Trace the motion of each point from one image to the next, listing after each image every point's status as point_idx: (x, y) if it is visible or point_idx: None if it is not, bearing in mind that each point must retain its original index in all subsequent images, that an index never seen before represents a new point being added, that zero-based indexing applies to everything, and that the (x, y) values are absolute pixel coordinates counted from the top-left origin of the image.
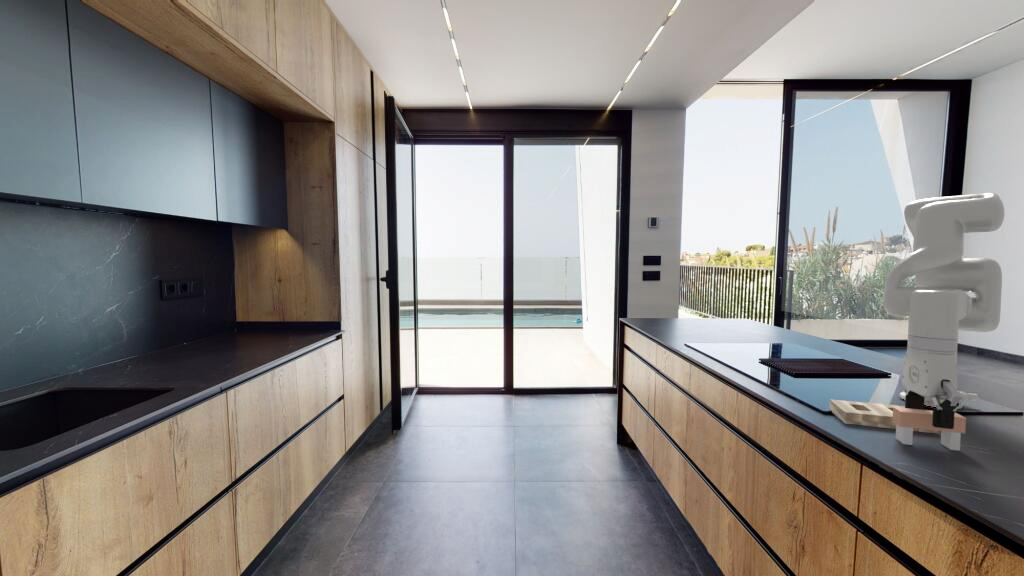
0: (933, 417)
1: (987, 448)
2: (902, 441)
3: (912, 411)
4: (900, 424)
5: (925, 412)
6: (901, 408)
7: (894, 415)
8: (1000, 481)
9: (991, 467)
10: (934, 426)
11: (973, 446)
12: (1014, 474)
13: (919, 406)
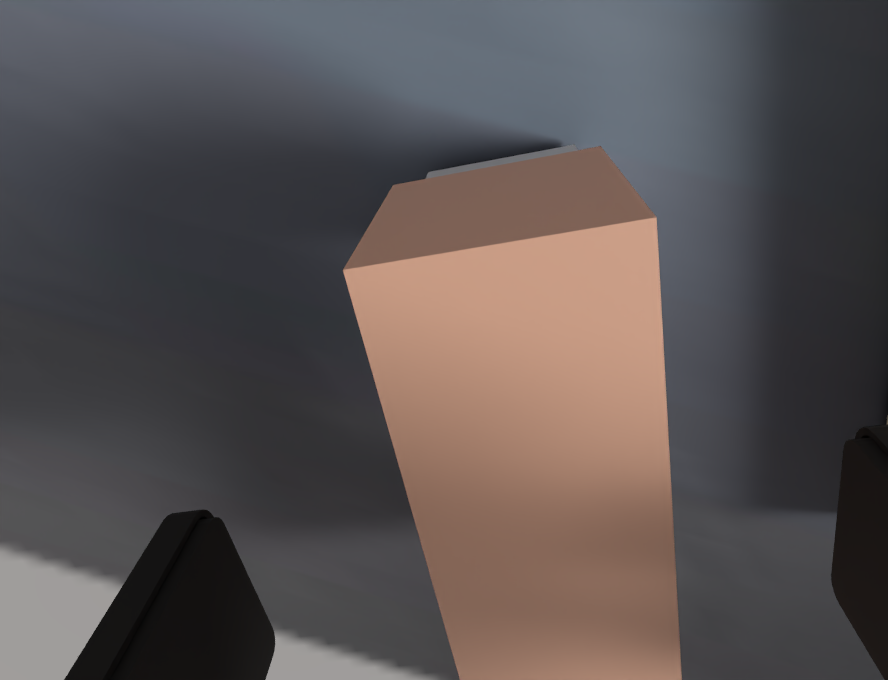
0: (122, 612)
1: None
2: (438, 174)
3: (485, 462)
4: (385, 198)
5: (527, 605)
6: (605, 346)
7: (556, 183)
8: (72, 530)
9: (292, 570)
10: (170, 515)
11: None
12: None
13: (886, 634)
